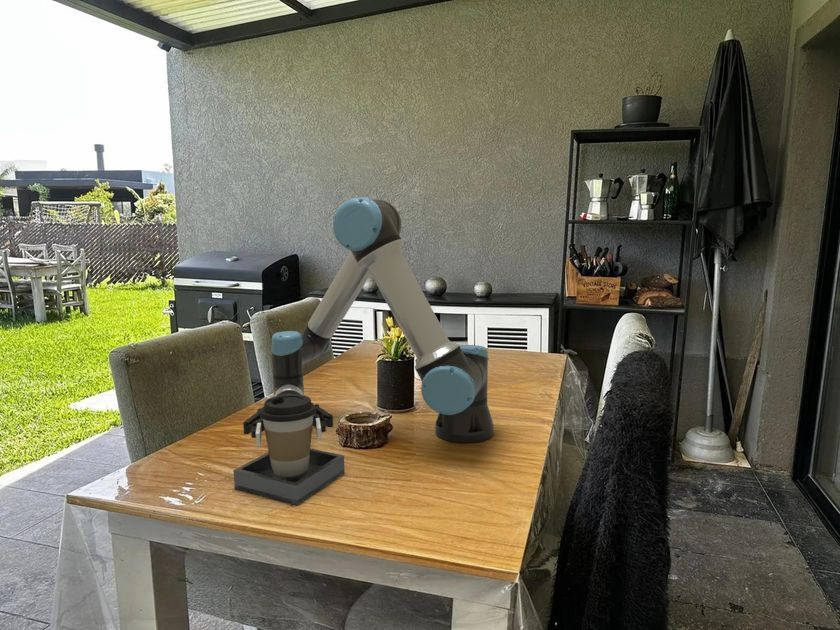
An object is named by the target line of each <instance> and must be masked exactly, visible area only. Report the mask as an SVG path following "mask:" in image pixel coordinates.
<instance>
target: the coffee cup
mask: <svg viewBox="0 0 840 630" xmlns="http://www.w3.org/2000/svg"><path fill="white" fill-rule="evenodd" d="M263 404H264V405H263V406H262V407H261V410H260V413H261V414H260V417H261V418H262V419H263V423H264V428H265V430H264V433H265V438H266V444H267V448H268V452H269V455H270V461H271V466H272V469H273V472H274V474H275V475H277V476H281V477H293V476H298V475H301V474H303V473H305V472H306V471H307V469H308V466H309V457H310V449H311V444H312V443H311V442H312V435H313V434H312V433H313V426H312V424H313V415H314V414H315V413H316V409H315V404H314V403H313V402H312V400H311V398H310V397H309V396H307V395H305V394H304V395H298V394H287V395H279V396H275V397H274V396H272V397H269V398H268V399H266V400H265V401H264V403H263Z"/></svg>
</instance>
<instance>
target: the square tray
mask: <svg viewBox="0 0 840 630" xmlns="http://www.w3.org/2000/svg"><path fill="white" fill-rule="evenodd" d="M344 474H345V455H343V454H338V453H334V452H328V451H324V450H318V449H315V448H310V457H309V466H308V469H307V471H306V472H305V473H303V474H301V475H298V476H293V477H281V476H277V475H275V474H274V472H273V469H272V466H271V461H270V455H269V451H268V452H266V453H264V454H263V455H260V456H258V457H256V458H255V459H253V460H251V461H249V462H247V463H245V464H243V465H241V466H239V467H237V468H235V469H233V484H234V489H235V490H238V491H242V492H245V493H249V494H252V495H256V496H260V497H264V498H267V499H271V500H275V501H277V502H283V503H285V504H289V505H294V506H298V505H300V504H301V503H303V502H305V501H306V500H307V499H309V498H310V497H312V496H313V495H315V494H317V493H318V492H319V491H320V490H322V489H324V488H325V487H326V486H328V485H329V484H331V483H332V482H334V481H336V480H337V479H339V478H340V477H342V476H343V475H344Z"/></svg>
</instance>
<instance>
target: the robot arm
mask: <svg viewBox="0 0 840 630" xmlns="http://www.w3.org/2000/svg"><path fill="white" fill-rule="evenodd" d="M398 211H399V210H397V209H396V207H395V206H394V205H393V204H391V203H390V202H387V201H385V200H382V199H381V200H380V199H371V198H369V197H366V196H364V197H363V196H359V197H354V198H350V199H348V200H346V201H344V202H342V204H340V206H339V207H338V209H337V210H336V212H335V214H334V217H333V221H332V230H333V234H334V237H335V239H336V240H337V242H338V244H340V245H341V246H342V247H343V248H345V249H346V250H350V251H349V254H348V255H347V257H346V258H345V260H344V261H343V264H342V265H341V267H340V268H339V270H338V272H337V273H336V275H335V277H334V278H333V280H332V281H331V284H330V285H329V286H328V289H327V290H326V292H325V294H324V295H323V297H322V299H321V300H320V302H319V304H318V305H317V307H316V309H315V311H314V312H313V313H312V315H311V317H310V318H309V321H308V322H307V323H306V325H305V327H304V329H303V331H302V332H299V331H295V330H285V331H278V332H275V333H273V334H272V337H271V348H270V351H271V365H272V366H271V367H272V387H273V389H272V390H273V394H272V395H273V397H275V396H279V395H287V394H298V395H305V385H304V384H305V383H304V364H306V363H309V362H311V361H313V360H315V359H317V358H318V359H319V358H321V357H322V356H323V355H325V354H326V353H327V352H328V351H329V350H330V347H331V343H332V342H331V339H332V337H333V336H334V335H335V333H336V331H337V330H338V328H339V326H340V325H341V323H342V321H343V320H344V318H345V317H346V315H347V313H348V312H349V310H350V308H351V306H352V305H353V304H354V302H355V301H356V299H357V297H358V296H359V294H360V293H361V291H362V290H363V288H364V285H366V282H367V281H368V279H369V278H370V276H372V279H373V281H374V283H375V285H376V286H377V288H378V290H379V292H380V293H381V295H382V297H383V299H384V300H385V302H386V304H387V306H388V307H389V310H390V312H391V313H392V315H393V317H394V319H395V322H397V325H398V326H399V328H400V330H401V331H402V333H403V336H404V337H405V339H406V341H407V343H408V344H409V347H410V348H411V350H412V352H413V354H414V355H415V358H416V362H415V365H414V369H415V371H416V373H417V376H418V377H419V379H420V381H421V387H420V391H421V397H422V399H423V401H424V402H425V404H426V405H427V407H429V408H430V409H431V410H432V411H434V412H435V413H437V414H438V415H437V417H436V421H435V424H434V428H435V429H434V431H435V434H436V436H437V437H439V438H440V439H443V440H445V441H449V442H453V443H461V444H462V443H463V444H465V443H466V444H467V443H468V444H469V443H478V442H483V441H486V440H489V439H491V438H492V437H493V436H494V433H495V427H494V425H495V424H494V421H493V418H492V417H493V416H492V414H491V411H490V408H489V405H488V380H489V379H488V377H489V376H488V372H489V354H488V352H489V351H488V349H487V347H485V346H482V345H477V344H459V343H456V342H453V341H452V340H450V339H449V338H448V336H447V334H446V332H445V329H444V328H443V327H442V324H441V323H440V321H439V320H438V317H437V316H436V314H435V312H434V309H433V308H432V306H431V304H430V303H429V301H428V298H426V296H425V293H424V292H423V289H422V288H421V285H420V284H419V282H418V281H417V279H416V276H415V275H414V273H413V271H412V269H411V268H410V266H409V265H408V263H407V260H406V259H405V257H404V255H403V253H402V250H401V247H402V244H403V240H402V238H401V236H400V235H401V230H402V217H401V215H400V214H399V212H398ZM314 405H315V409H316V413H315V414H314V415H313V424H312V427H313V428H314V427H315V431H316V439H317V442H322V433H325V432H326V431H327V428H333V427H334V416H333V415H332V414H331V413H330V412H329V411H326V410H325V409H323V408H321V407H320V405H319V404H318V403H317V404H314ZM261 408H262V407H261ZM261 408H258V409H257V411H256V412H255V413H253V414H252V415H251V416H250V417H249V418H247V419H246V420H244V421H243V422H242V423H243V424H242V426H243V427H242V428H243V435H249V434H250V435H251V436H250V437H251V438H252V439H255V444H256V448H257V447H259V448H260V447H261V444H262V436H263V434H262V433H263V432H265V428H264V423H263V419H262V418H261V417H260V414H261V413H260V410H261Z"/></svg>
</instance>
